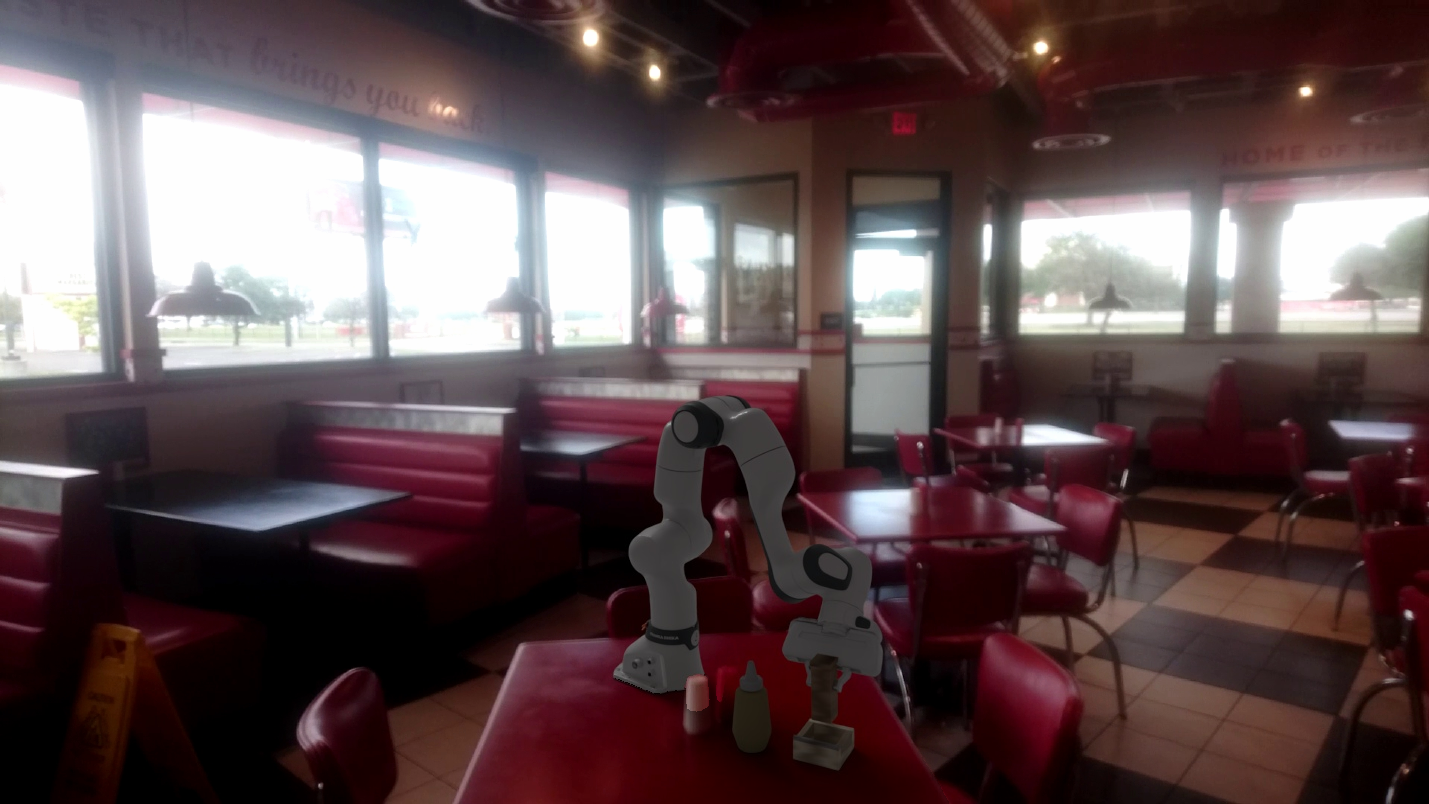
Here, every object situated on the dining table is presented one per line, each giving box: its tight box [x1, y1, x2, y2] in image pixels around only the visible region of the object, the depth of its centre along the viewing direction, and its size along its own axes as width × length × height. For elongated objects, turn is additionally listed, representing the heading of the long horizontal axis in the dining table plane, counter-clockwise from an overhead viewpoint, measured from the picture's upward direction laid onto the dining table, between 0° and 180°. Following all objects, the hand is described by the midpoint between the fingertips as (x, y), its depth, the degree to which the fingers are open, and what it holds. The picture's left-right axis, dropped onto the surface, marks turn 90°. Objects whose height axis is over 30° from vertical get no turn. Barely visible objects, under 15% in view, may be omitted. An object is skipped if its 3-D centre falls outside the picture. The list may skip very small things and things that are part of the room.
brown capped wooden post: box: [809, 653, 839, 724], centre depth 161 cm, size 4×4×12 cm
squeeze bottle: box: [731, 660, 772, 754], centre depth 165 cm, size 8×8×18 cm
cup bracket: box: [792, 717, 855, 771], centre depth 163 cm, size 9×9×5 cm
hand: (823, 688), depth 161 cm, fingers closed on brown capped wooden post, 4 cm apart
